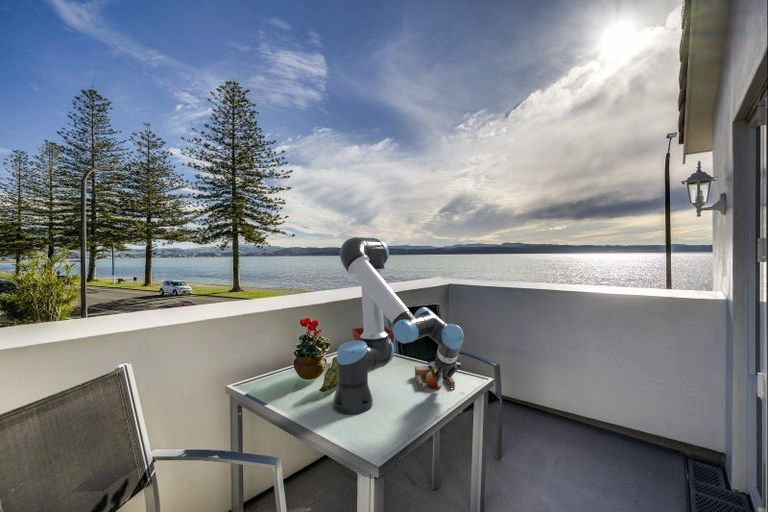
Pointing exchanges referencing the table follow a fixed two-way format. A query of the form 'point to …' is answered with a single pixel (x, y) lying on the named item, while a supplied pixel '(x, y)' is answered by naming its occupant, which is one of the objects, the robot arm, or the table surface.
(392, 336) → the plant pot
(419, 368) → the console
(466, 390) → the table surface
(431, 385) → the fruit
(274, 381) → the table surface
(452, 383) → the brown wooden u shape
